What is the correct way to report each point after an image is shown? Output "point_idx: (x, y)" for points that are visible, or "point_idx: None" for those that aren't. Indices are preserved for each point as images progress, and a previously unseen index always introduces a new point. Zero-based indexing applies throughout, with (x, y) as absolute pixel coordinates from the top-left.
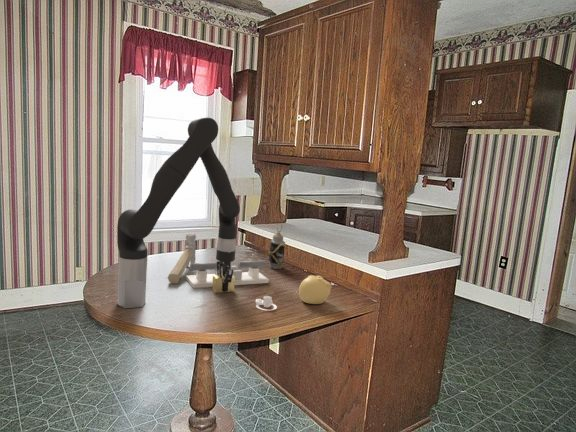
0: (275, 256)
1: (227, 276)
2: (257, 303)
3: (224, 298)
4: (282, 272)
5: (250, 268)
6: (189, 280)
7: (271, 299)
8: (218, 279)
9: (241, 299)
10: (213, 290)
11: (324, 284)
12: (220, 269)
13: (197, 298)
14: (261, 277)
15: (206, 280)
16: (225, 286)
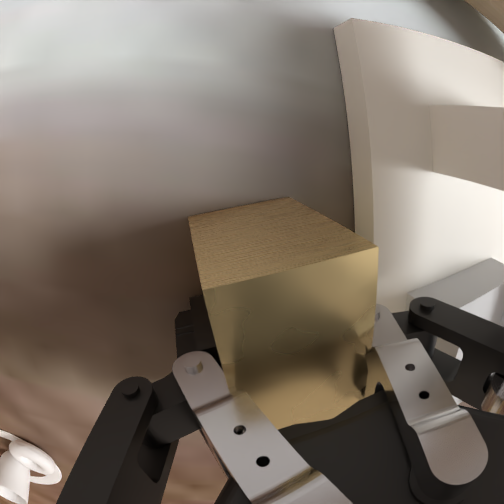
0: None
1: (81, 475)
2: (10, 443)
3: (46, 290)
4: None
5: None
6: (447, 41)
7: (12, 494)
8: (209, 318)
9: (60, 396)
10: (242, 206)
11: None
12: (398, 415)
13: (45, 40)
14: None
15: (438, 175)
16: (178, 349)
